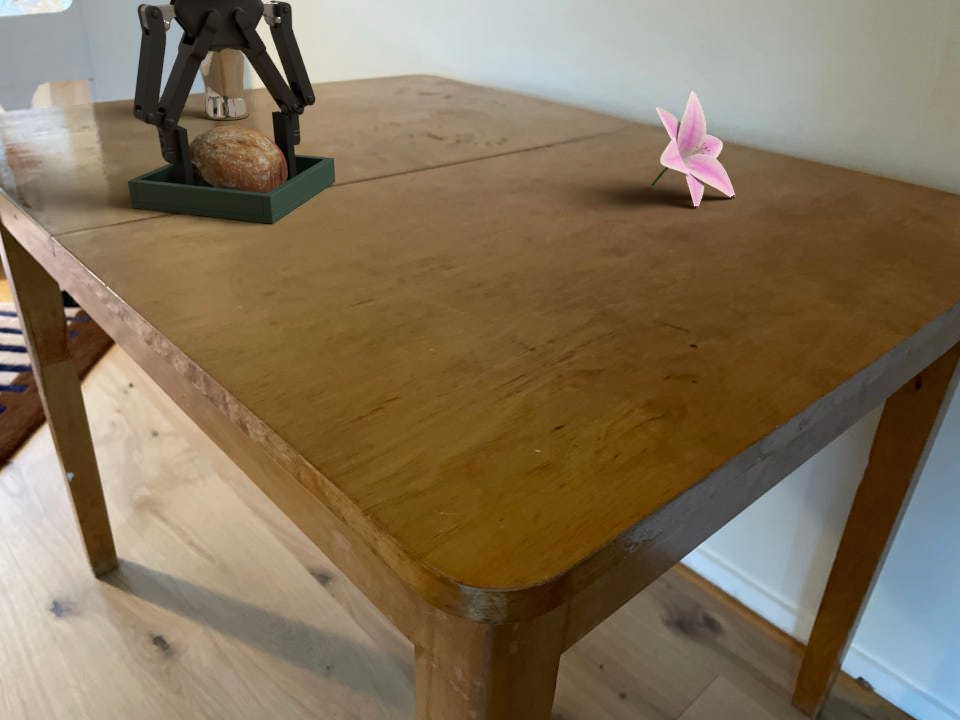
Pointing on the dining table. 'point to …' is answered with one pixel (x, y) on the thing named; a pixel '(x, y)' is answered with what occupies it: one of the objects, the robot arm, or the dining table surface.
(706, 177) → the lily
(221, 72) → the beer glass
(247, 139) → the bread roll
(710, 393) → the dining table surface
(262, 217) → the dark green square tray
